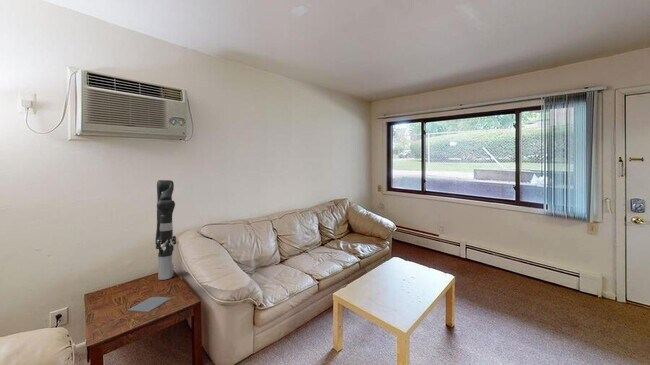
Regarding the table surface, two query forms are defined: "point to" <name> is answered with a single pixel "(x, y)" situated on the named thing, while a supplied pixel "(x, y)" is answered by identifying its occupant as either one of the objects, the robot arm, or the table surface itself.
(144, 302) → the mat
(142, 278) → the table surface
